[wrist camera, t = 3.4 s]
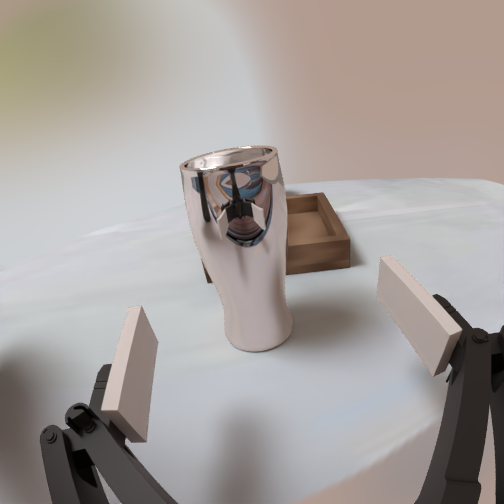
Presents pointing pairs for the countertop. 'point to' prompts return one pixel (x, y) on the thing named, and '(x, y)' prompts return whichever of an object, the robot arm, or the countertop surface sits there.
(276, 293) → the beer glass
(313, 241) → the tray
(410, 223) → the countertop surface
